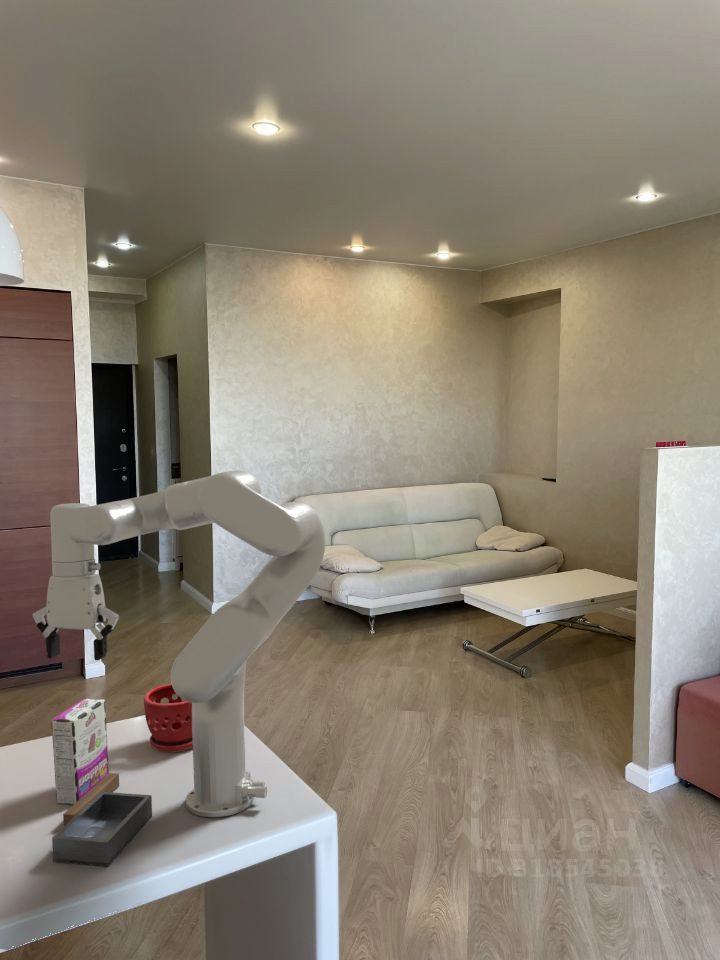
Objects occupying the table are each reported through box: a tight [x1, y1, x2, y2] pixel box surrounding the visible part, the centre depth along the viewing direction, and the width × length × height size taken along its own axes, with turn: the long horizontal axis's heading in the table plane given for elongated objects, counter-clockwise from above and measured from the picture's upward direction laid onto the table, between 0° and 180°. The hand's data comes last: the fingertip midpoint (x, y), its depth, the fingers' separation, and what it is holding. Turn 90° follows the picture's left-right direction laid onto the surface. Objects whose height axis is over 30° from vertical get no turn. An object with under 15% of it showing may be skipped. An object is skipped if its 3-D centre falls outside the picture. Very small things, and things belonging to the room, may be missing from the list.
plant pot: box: [143, 683, 193, 753], centre depth 164 cm, size 13×13×12 cm
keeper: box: [51, 791, 153, 868], centre depth 126 cm, size 10×16×4 cm, turn 170°
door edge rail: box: [62, 772, 120, 827], centre depth 138 cm, size 2×16×2 cm, turn 170°
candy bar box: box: [50, 697, 110, 806], centre depth 143 cm, size 11×5×16 cm, turn 168°
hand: (76, 657), depth 142 cm, fingers open, 9 cm apart
